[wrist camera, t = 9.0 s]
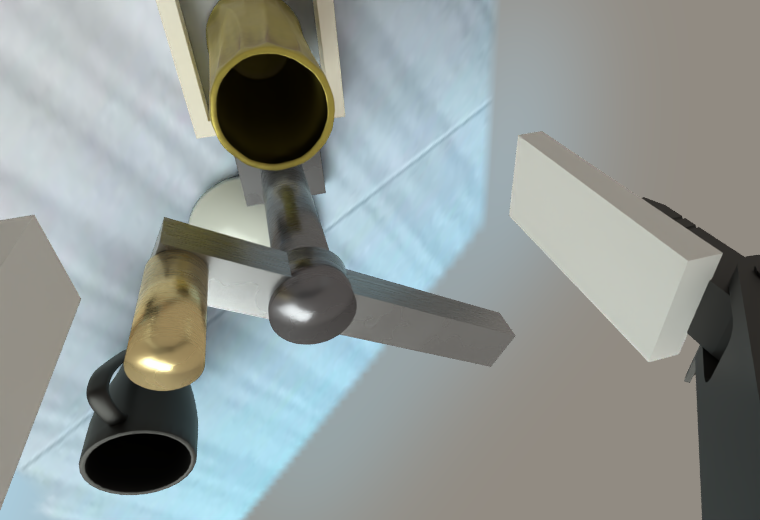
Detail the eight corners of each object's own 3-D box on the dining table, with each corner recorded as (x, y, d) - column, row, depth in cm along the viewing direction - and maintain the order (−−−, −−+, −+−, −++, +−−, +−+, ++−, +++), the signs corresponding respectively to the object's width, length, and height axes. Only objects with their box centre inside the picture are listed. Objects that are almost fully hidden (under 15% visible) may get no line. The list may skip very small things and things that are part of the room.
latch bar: (506, 303, 29) (574, 396, 23) (470, 351, 30) (524, 448, 25) (164, 200, 20) (141, 311, 14) (138, 276, 21) (109, 401, 16)
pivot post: (227, 123, 34) (229, 238, 22) (312, 111, 35) (359, 214, 23) (246, 199, 37) (257, 333, 25) (323, 185, 38) (368, 308, 26)
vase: (225, 99, 33) (226, 195, 22) (190, -1, 29) (170, 52, 18) (312, 78, 34) (357, 161, 22) (289, -22, 30) (329, 17, 19)
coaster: (170, 187, 35) (170, 191, 35) (306, 164, 37) (308, 169, 36) (207, 291, 41) (207, 297, 41) (323, 268, 43) (325, 273, 42)
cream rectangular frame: (148, -42, 28) (144, -40, 26) (322, -57, 29) (327, -55, 28) (198, 127, 33) (196, 138, 32) (339, 107, 35) (345, 116, 34)
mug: (170, 298, 41) (158, 385, 33) (211, 389, 48) (209, 477, 40) (66, 321, 39) (29, 416, 32) (124, 411, 47) (105, 506, 39)
